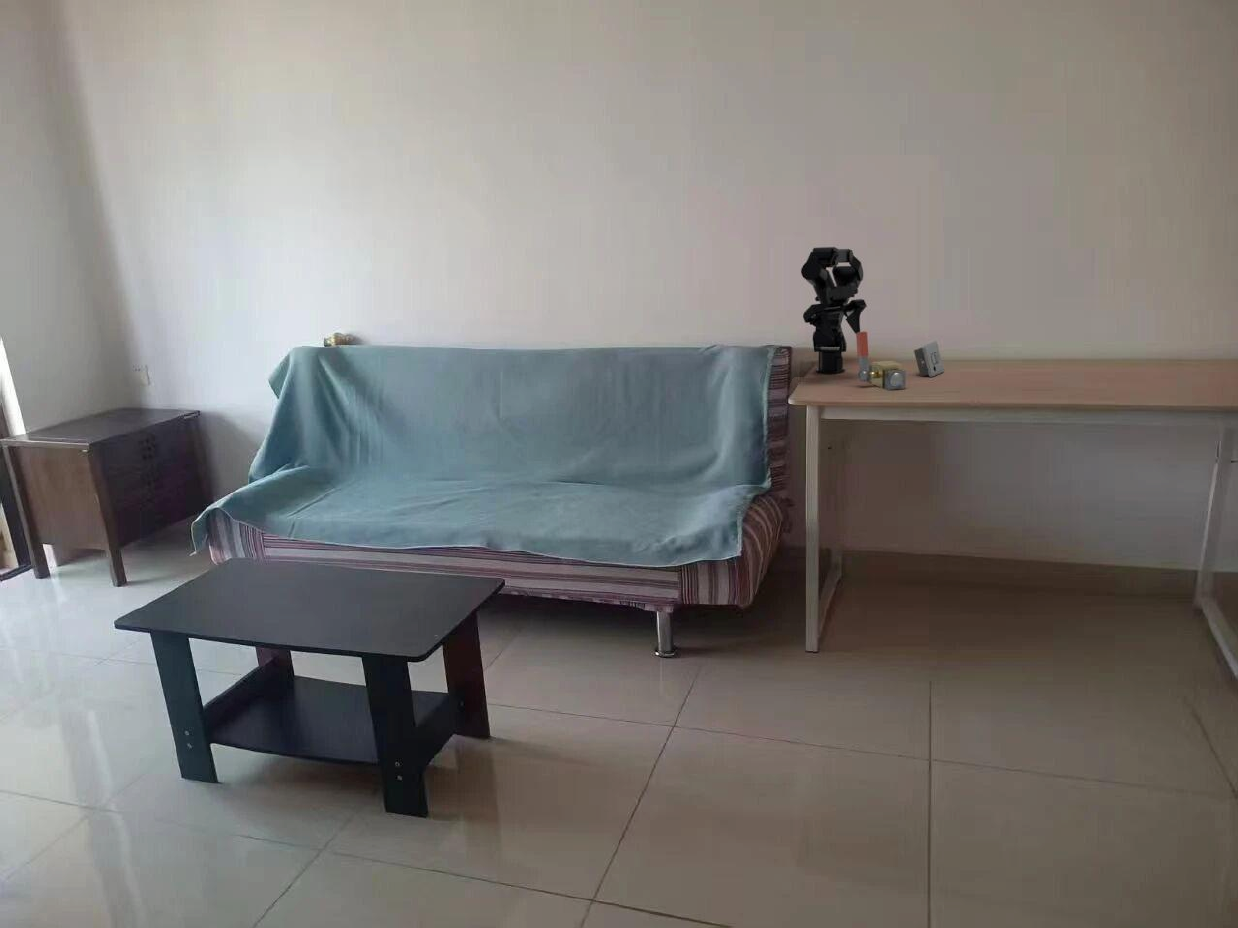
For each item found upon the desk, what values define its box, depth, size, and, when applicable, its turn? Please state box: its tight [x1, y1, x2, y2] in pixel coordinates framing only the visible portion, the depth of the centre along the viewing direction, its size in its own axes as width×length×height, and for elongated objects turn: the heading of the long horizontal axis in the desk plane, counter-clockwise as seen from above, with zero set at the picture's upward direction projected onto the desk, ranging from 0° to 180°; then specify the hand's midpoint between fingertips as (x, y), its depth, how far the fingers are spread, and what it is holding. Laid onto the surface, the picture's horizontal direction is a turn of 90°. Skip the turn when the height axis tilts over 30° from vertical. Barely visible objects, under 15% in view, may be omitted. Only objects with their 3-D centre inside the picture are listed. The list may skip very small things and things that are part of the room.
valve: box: [868, 360, 907, 391], centre depth 262 cm, size 15×8×6 cm, turn 8°
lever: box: [855, 331, 870, 383], centre depth 261 cm, size 3×2×14 cm
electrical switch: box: [913, 340, 945, 378], centre depth 273 cm, size 9×5×9 cm, turn 141°
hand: (846, 336), depth 268 cm, fingers open, 9 cm apart
